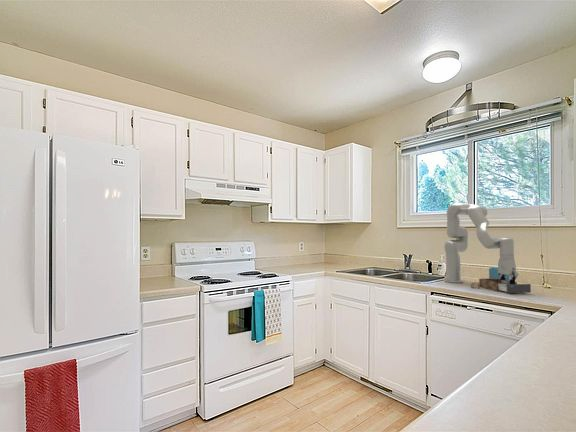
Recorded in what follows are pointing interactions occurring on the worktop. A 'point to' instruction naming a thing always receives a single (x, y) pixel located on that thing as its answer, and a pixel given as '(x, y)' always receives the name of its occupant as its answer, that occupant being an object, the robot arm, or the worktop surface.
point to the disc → (505, 281)
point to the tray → (515, 288)
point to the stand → (474, 285)
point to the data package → (496, 273)
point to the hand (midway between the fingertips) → (507, 284)
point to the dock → (490, 283)
